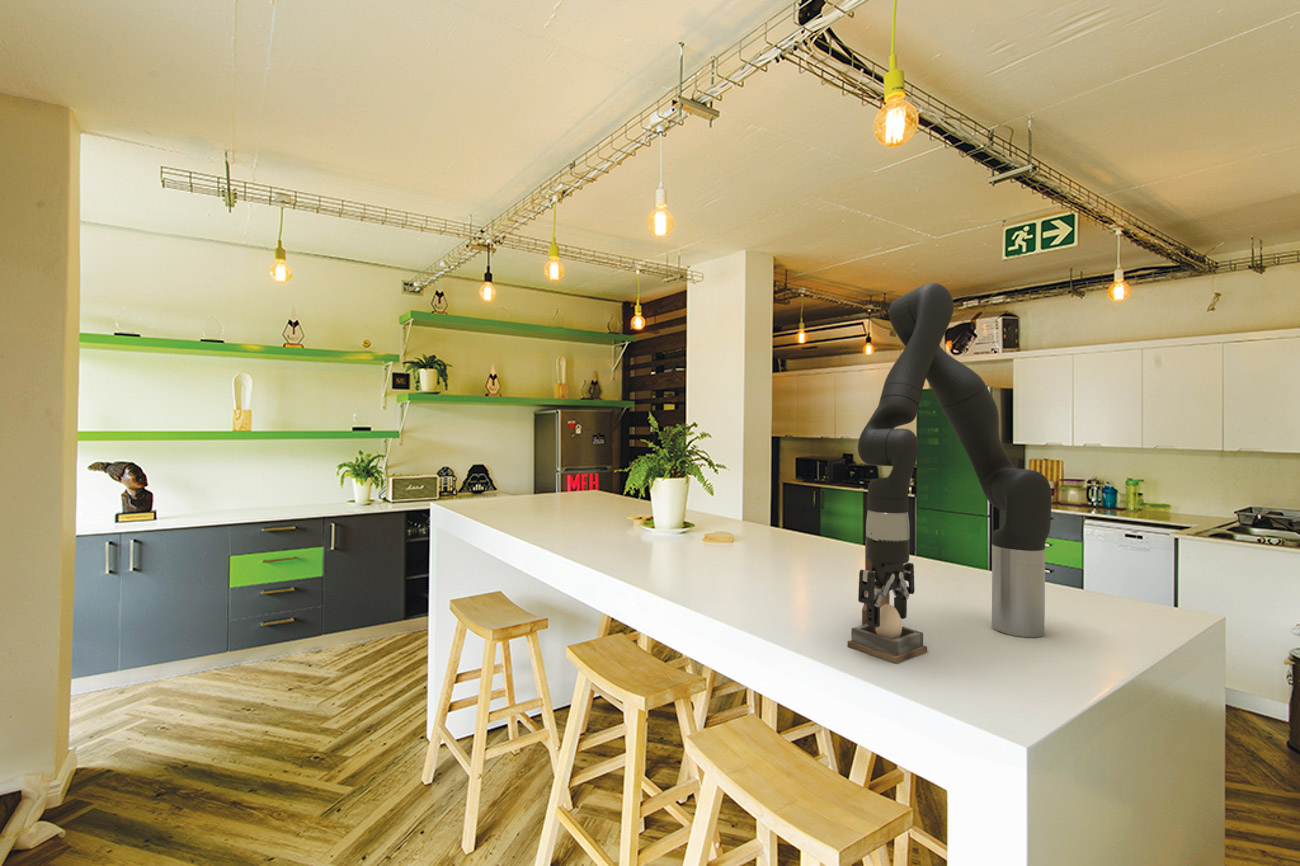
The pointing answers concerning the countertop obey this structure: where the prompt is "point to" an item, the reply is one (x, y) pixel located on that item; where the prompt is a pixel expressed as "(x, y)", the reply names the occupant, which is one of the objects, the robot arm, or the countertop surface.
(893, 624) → the egg
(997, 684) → the countertop surface
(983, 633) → the countertop surface
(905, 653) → the holder
